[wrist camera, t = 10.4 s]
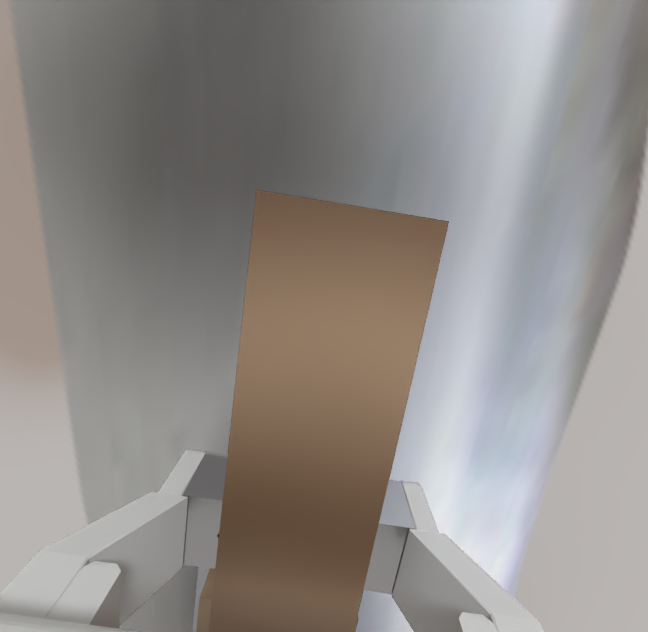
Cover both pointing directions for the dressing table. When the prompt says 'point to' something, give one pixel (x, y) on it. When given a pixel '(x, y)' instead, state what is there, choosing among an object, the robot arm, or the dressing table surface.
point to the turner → (316, 409)
